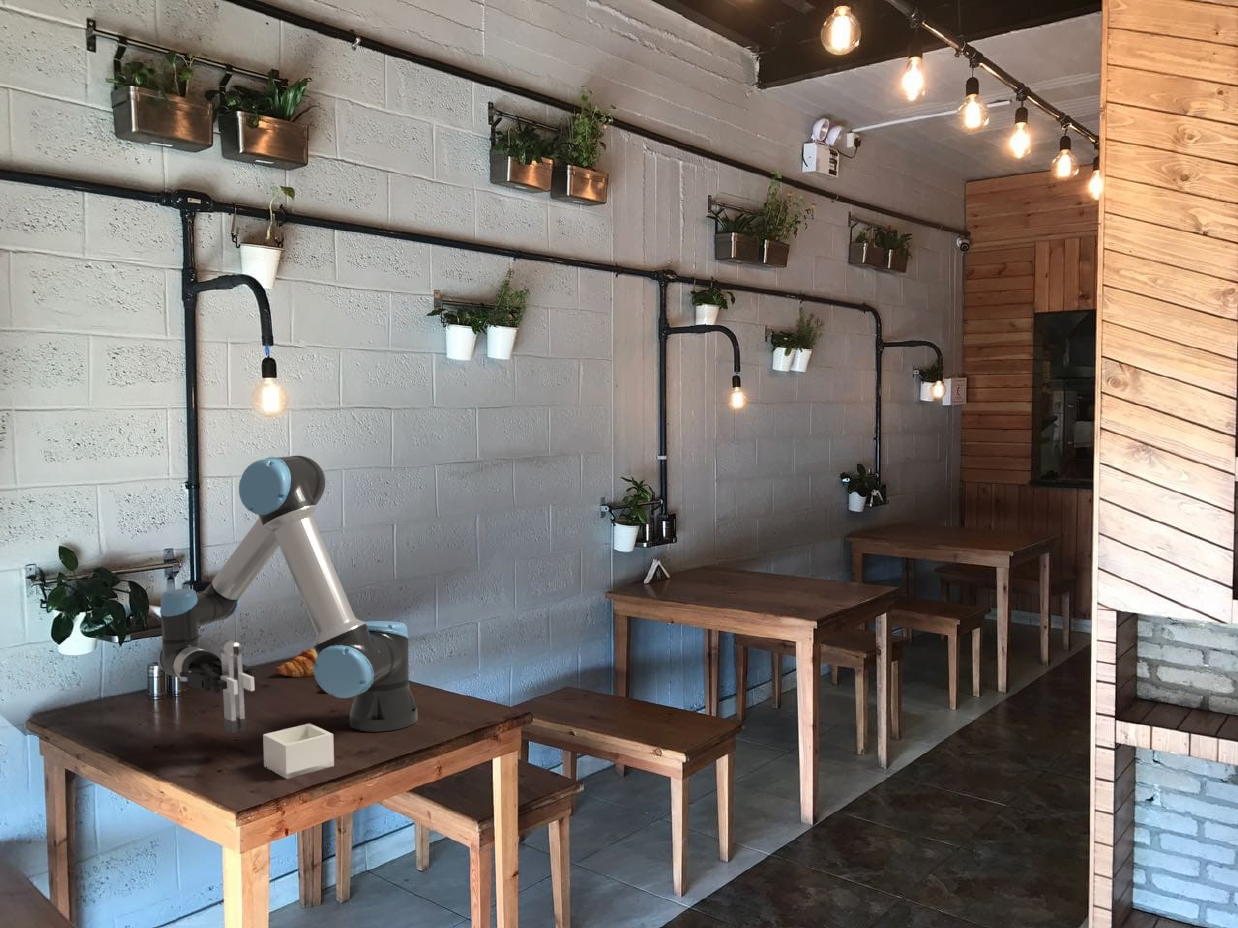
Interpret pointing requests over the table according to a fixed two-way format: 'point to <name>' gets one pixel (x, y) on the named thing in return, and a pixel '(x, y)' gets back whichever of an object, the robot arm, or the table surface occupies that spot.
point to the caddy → (298, 750)
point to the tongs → (234, 670)
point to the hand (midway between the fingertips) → (244, 685)
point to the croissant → (299, 665)
